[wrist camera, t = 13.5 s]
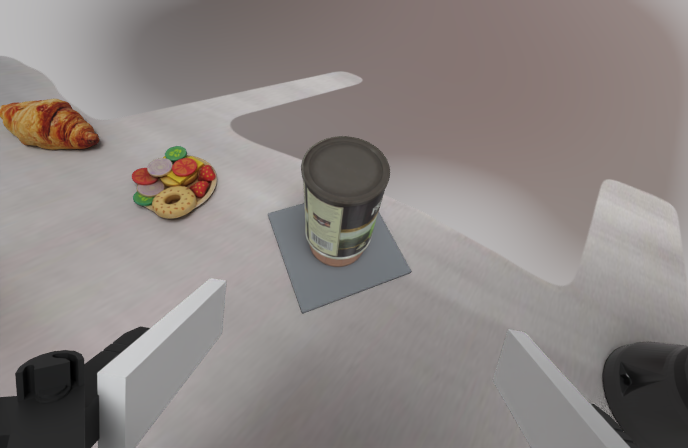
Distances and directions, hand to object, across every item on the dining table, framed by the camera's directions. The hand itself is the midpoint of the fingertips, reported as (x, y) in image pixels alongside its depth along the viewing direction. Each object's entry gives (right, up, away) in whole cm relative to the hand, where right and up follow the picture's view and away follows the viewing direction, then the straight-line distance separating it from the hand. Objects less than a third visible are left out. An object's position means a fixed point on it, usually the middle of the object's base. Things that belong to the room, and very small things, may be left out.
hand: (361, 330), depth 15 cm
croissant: (-55, +22, +47) cm, 75 cm away
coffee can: (-2, +4, +35) cm, 35 cm away
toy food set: (-30, +11, +42) cm, 53 cm away
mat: (-2, +2, +38) cm, 38 cm away
